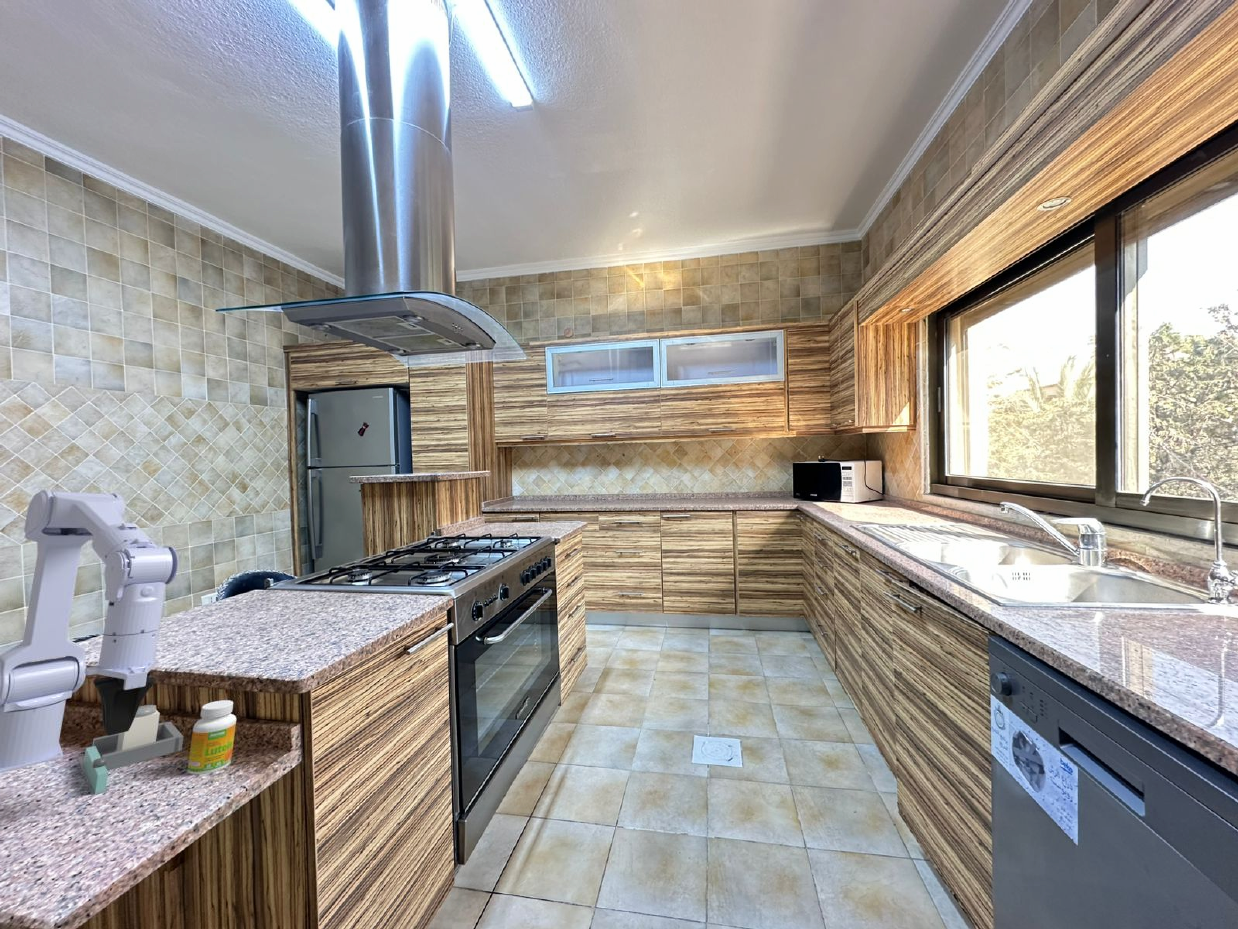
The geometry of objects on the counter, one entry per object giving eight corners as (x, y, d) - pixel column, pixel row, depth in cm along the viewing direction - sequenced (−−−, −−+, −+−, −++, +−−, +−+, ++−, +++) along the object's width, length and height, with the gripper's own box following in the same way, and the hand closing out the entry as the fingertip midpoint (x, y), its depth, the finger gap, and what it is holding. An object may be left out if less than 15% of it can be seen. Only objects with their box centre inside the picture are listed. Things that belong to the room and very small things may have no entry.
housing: (76, 758, 78) (79, 742, 78) (167, 735, 87) (169, 721, 87) (91, 797, 67) (94, 779, 67) (193, 767, 76) (196, 750, 76)
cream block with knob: (116, 752, 79) (122, 709, 80) (149, 743, 82) (155, 702, 83) (120, 759, 77) (127, 715, 78) (154, 750, 80) (160, 708, 81)
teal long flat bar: (81, 765, 75) (85, 743, 75) (94, 761, 76) (97, 740, 77) (93, 794, 67) (97, 770, 68) (107, 790, 68) (111, 766, 69)
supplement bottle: (201, 779, 73) (209, 713, 74) (178, 772, 74) (187, 707, 76) (238, 763, 78) (246, 701, 79) (217, 757, 79) (224, 696, 81)
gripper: (84, 627, 69) (67, 725, 68) (99, 645, 61) (80, 757, 59) (150, 621, 75) (137, 711, 73) (172, 635, 66) (157, 738, 65)
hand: (116, 730), depth 66 cm, fingers closed
